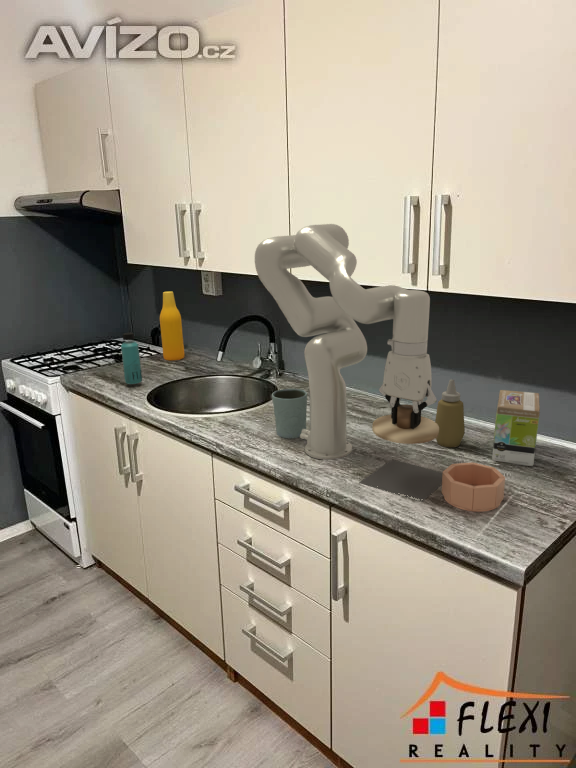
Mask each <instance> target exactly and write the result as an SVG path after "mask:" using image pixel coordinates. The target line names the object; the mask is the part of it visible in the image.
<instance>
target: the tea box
mask: <svg viewBox="0 0 576 768" xmlns="http://www.w3.org/2000/svg"><path fill="white" fill-rule="evenodd" d="M498 395H499V396H498V400H497V406H496V411H495V412H496V414H495V421H494V422H495V424H494V432H493V433H494V435H493V444H492V445H493V447H492V457H491V460H492V461H495V462H504V463H510V464H513V465H519V466H525V467H526V466H529V467H533V466H534V463H535V457H536V456H535V455H536V448H537V439H538V430H539V421H540V413H541V412H540V410H541V408H540V393H537V392H528V391H516V390H507V389H500V390H499V394H498Z"/></svg>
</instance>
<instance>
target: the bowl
mask: <svg viewBox="0 0 576 768" xmlns="http://www.w3.org/2000/svg"><path fill="white" fill-rule="evenodd" d="M442 472H443V475H442V485H441V494H442V495H443V498H444V500H445V501H446V503H448V505H451V506H453V507H454V508H456V509H459V510H460V509H461V510H463V511H468V512H478V513H479V512H488V511H489V512H490V511H493V510H495V509H497V508H499V506H500V505H501V503H502V501H503V500H504V496H505V485H506V484H505V483H506V477H505V476H504V475H503V474H502V473H501V472H500V471H499V470H498V469H497V467H494V466H490V465H485V464H482V463H477V462H475V461H474V462H473V461H471V462H461V463H460V462H459V463H452V464H450V465H449V466H448V467H446V469H444V470H443V471H442Z"/></svg>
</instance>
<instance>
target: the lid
mask: <svg viewBox="0 0 576 768" xmlns="http://www.w3.org/2000/svg"><path fill="white" fill-rule="evenodd" d="M411 412H413V404H405V403H403V404H401V405H399V406H398V407H397V423H396V424H392V418H391V414H387V415H386V414H385V415H382V416H380V417H377V418H376V419H374V421H373V422H372V426H371V428H372V429H371V430H372V433H373V434H374V435H375V436H376V437H378V438H380V439H382V440H385V441H388V442H391V443H397V444H403V445H413V444H414V445H417V444H424V443H429V442H431V441H434V440H435V439H436V438H437V436H438V435H439V426H438V424H437V423H435V421H434V420H432V419H431V418H428V417H425V416H422V415H421V423H420V425H419V426H417V427H416V428H414V429H411V428H410V422H411Z"/></svg>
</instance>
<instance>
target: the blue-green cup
mask: <svg viewBox="0 0 576 768" xmlns="http://www.w3.org/2000/svg"><path fill="white" fill-rule="evenodd" d="M271 399H272V406H273V412H274V413H273V415H274V417H275V419H274V420H275V422H274V423H275V429H276V430H275V431H276V434H277V436H278V437H279V438H284V439H297V438H298V439H299V438H300V434H301V433H302V430H303V429H307V416H308V415H307V412H308V411H307V410H308V408H307V406H308V392H307V391H306V390H304V389H300V388H282V389H278V390H275V391H274V392H272V394H271Z"/></svg>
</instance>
